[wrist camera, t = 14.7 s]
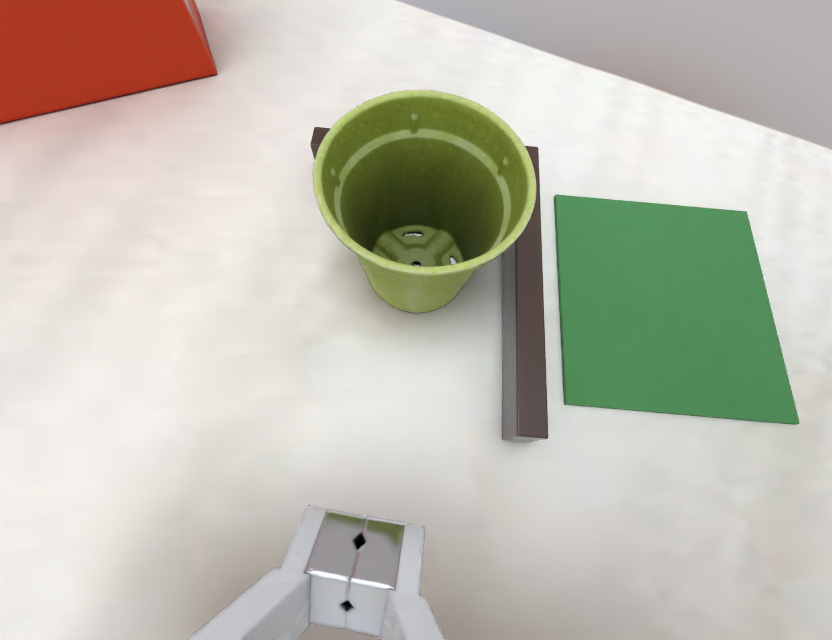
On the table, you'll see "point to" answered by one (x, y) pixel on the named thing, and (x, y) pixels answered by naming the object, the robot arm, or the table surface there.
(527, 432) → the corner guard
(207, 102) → the table surface
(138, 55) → the file binder
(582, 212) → the green cloth
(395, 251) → the plant pot
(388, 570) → the robot arm
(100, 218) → the table surface
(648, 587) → the table surface
